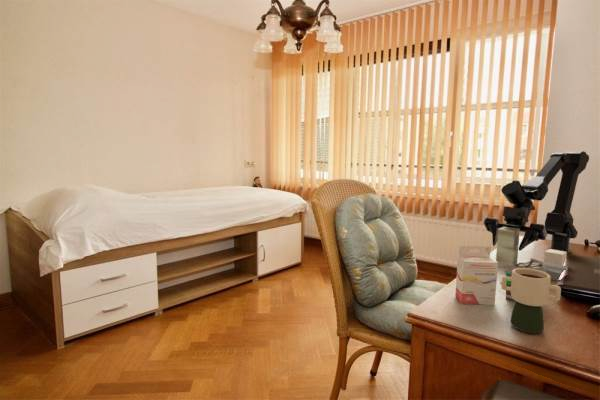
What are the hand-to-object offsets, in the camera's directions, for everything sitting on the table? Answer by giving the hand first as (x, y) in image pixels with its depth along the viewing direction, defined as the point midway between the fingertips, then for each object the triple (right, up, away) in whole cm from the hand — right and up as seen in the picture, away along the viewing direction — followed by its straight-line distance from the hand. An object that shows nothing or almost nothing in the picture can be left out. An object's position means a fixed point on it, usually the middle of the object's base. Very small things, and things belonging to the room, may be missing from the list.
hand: (506, 247), depth 118 cm
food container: (-10, -11, -27) cm, 30 cm away
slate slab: (+9, -8, -7) cm, 14 cm away
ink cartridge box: (-25, -11, -27) cm, 38 cm away
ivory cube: (+17, -6, +1) cm, 19 cm away
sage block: (+1, -6, +2) cm, 7 cm away
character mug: (-20, -13, -41) cm, 48 cm away
